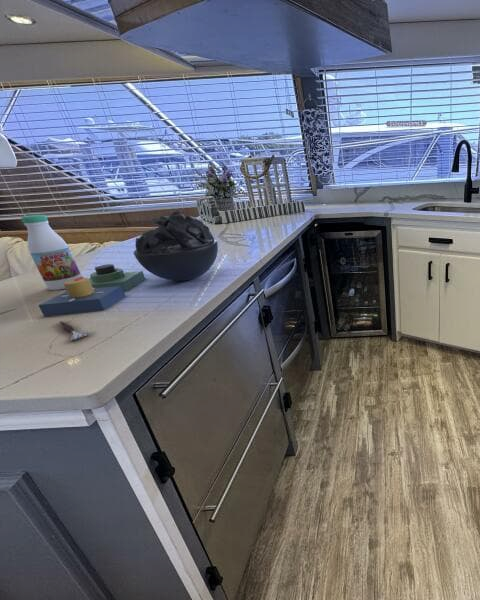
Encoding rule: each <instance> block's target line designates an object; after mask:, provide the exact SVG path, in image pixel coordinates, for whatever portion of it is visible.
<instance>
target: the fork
mask: <svg viewBox="0 0 480 600" xmlns="http://www.w3.org/2000/svg"><path fill="white" fill-rule="evenodd" d="M59 323H60V325H61V326H62V329H63V330H65V331H67V332H68V333H71V334H72V336H71V337H70V341H75V340H78V339H81V338H84V337H87V336H89V333H90V332H89V331H87V332H86V333H84V332H82V333H81V332H76V330H75V329H74V328H73V326H72V325H70V324H69V323H65V322H63V321H61V320H60V321H59Z"/></svg>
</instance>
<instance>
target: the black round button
mask: <svg viewBox="0 0 480 600" xmlns="http://www.w3.org/2000/svg"><path fill="white" fill-rule="evenodd" d="M115 268H116V267H115V264H111V263H110V264H109V263H108V264H102V265H97V266H95V267H94V270H95V272H97V275H103V274H109V273H113V272H116V270H115Z"/></svg>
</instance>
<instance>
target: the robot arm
mask: <svg viewBox="0 0 480 600" xmlns="http://www.w3.org/2000/svg"><path fill="white" fill-rule="evenodd" d="M2 132H4V128H3V126H2V124H1V123H0V169H7V168H8V169H9V168H16V167H17V165H18V160H17V157H16V155H15V152H14V150H13V148H12V146H11V144H10V142H9V140H8V139H7V137H6V136H5V135H4V134H2Z"/></svg>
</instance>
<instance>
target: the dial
mask: <svg viewBox="0 0 480 600" xmlns="http://www.w3.org/2000/svg"><path fill="white" fill-rule="evenodd" d="M63 284H64V286H65V290H66V291H67V292H68V294H69V296H70V298H78V297H84V296H87V295H90V294H92V293H94V290H93V287H92V285H91V283H90V281H89V277H84V276H82V277H79V278H77V279H73V280H69V281H66V282H64V283H63Z"/></svg>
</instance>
